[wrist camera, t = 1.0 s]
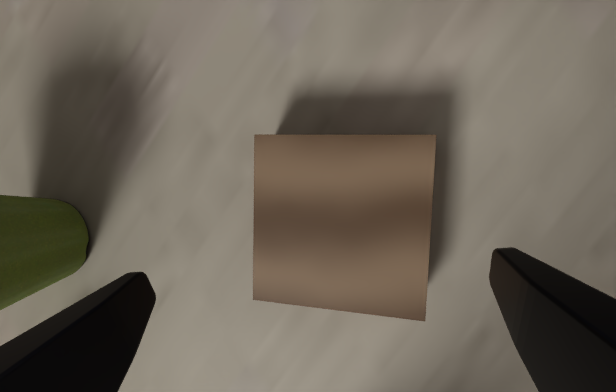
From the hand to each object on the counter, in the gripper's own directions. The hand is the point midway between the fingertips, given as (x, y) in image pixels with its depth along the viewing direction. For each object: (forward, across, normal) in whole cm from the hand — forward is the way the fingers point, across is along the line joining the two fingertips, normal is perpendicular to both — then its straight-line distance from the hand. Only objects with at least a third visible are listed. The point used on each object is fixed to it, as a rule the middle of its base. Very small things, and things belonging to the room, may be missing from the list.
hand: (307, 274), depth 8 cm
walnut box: (+14, 0, +7) cm, 16 cm away
